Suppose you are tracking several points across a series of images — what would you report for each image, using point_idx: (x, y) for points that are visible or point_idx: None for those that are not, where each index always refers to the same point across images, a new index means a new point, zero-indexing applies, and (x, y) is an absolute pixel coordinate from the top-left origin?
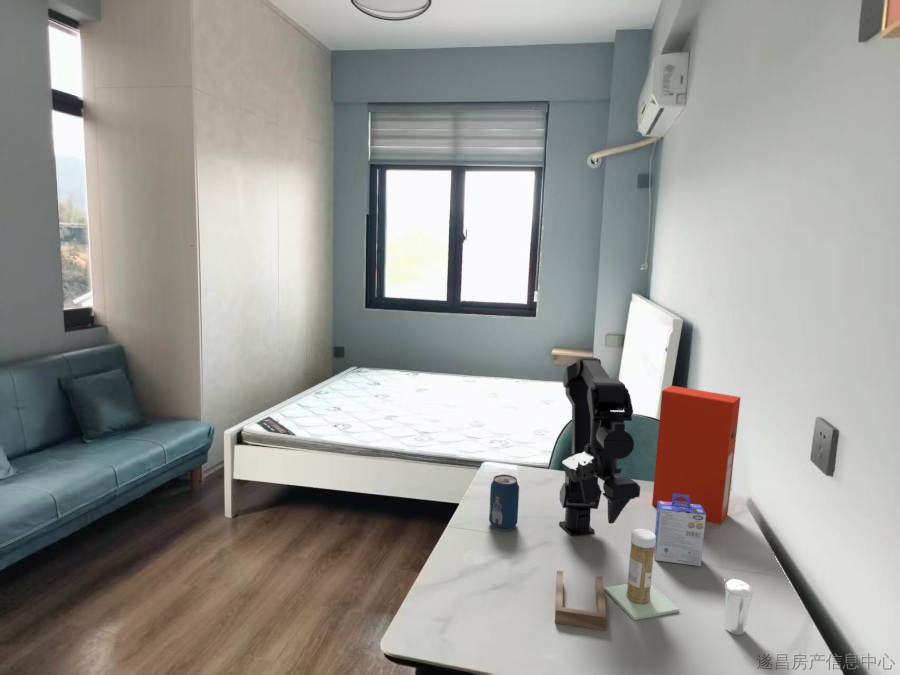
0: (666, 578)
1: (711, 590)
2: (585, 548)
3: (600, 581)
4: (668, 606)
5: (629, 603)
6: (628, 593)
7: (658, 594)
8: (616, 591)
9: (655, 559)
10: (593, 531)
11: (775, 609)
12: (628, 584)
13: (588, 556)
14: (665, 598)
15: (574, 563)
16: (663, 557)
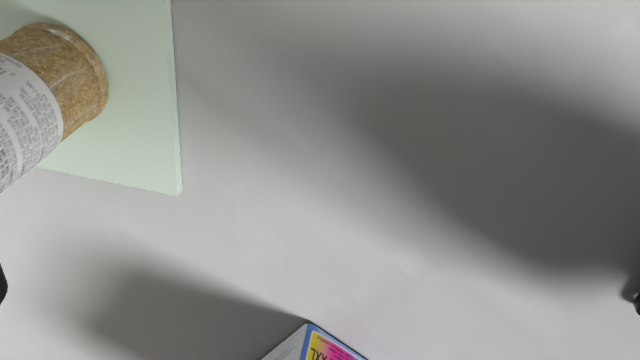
0: (196, 267)
1: (108, 315)
2: (549, 171)
3: None
4: None
5: (24, 2)
6: (44, 34)
7: (80, 162)
8: (119, 15)
9: (308, 325)
10: (637, 305)
11: (13, 356)
12: (24, 52)
13: (475, 130)
14: (53, 164)
15: (458, 6)
16: (286, 347)
